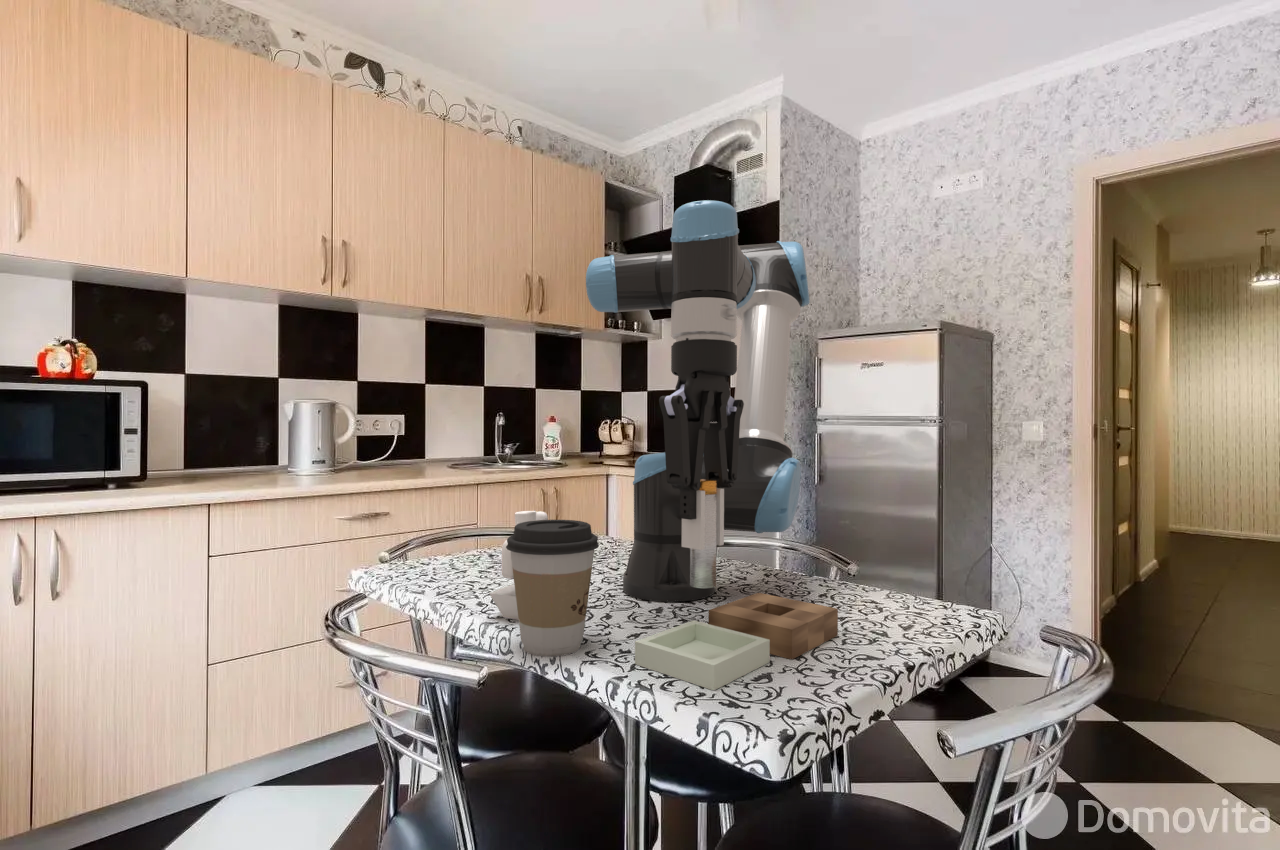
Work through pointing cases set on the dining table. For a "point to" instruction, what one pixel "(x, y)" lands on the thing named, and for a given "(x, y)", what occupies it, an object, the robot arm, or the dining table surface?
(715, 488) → the clear capped vial
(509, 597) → the figurine
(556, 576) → the coffee cup
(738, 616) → the block
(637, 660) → the tray
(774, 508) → the robot arm
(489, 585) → the dining table surface
